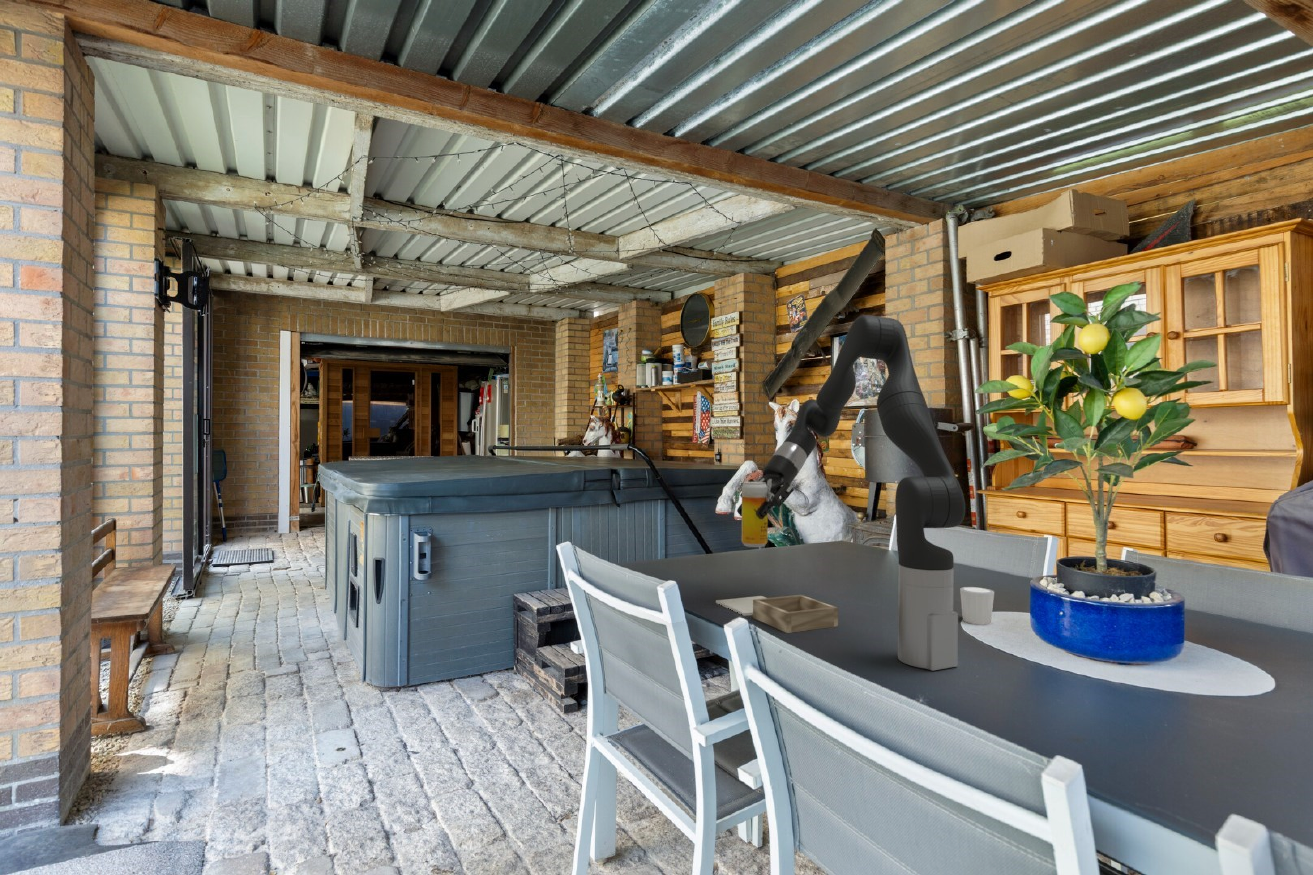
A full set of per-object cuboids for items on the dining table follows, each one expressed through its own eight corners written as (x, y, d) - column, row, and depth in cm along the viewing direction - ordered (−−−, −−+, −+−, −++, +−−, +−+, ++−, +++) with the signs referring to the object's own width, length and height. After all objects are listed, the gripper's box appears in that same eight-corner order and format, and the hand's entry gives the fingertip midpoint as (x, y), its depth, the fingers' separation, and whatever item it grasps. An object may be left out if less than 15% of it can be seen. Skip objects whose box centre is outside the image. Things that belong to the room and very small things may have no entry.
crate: (837, 626, 144) (837, 607, 144) (787, 633, 139) (787, 613, 139) (800, 611, 156) (800, 594, 156) (752, 617, 151) (753, 599, 151)
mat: (792, 610, 157) (792, 607, 157) (744, 615, 152) (744, 613, 152) (761, 598, 169) (761, 595, 169) (715, 602, 164) (715, 600, 164)
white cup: (987, 617, 153) (987, 586, 153) (999, 625, 146) (999, 593, 146) (955, 616, 153) (955, 585, 153) (966, 624, 146) (966, 592, 146)
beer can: (766, 547, 157) (767, 483, 157) (740, 547, 159) (740, 483, 159) (767, 543, 163) (768, 481, 163) (742, 543, 164) (742, 481, 164)
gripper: (757, 453, 171) (721, 502, 164) (799, 454, 159) (762, 507, 152) (772, 473, 174) (737, 522, 167) (814, 476, 162) (778, 529, 155)
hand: (749, 515), depth 160 cm, fingers closed on beer can, 6 cm apart
